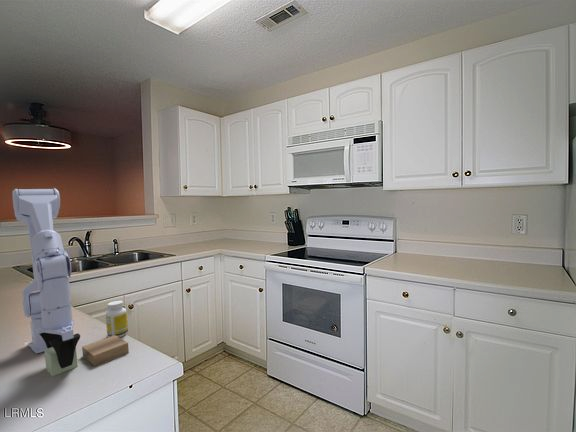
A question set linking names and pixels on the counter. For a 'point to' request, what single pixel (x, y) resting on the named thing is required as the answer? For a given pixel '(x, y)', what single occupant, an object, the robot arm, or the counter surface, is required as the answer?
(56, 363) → the sage cube
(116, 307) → the supplement bottle
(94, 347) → the walnut block
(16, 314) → the counter surface
